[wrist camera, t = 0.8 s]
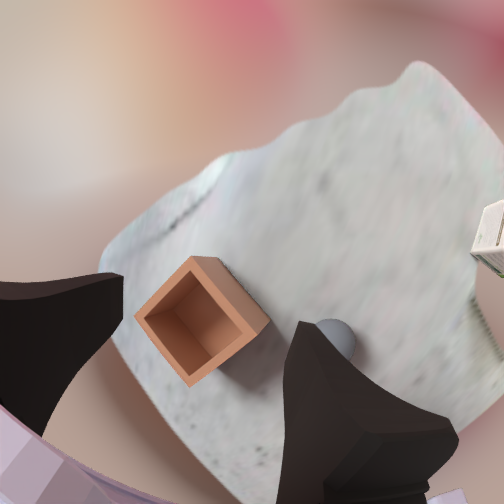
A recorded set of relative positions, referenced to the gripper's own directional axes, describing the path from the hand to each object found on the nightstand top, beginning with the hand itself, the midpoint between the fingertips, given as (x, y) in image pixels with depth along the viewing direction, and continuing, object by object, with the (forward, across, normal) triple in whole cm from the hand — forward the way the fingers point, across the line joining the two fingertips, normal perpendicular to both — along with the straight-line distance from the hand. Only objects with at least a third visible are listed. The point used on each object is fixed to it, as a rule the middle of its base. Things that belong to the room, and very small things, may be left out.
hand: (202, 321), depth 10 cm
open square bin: (+15, +2, +8) cm, 17 cm away
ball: (+13, -10, +7) cm, 18 cm away
